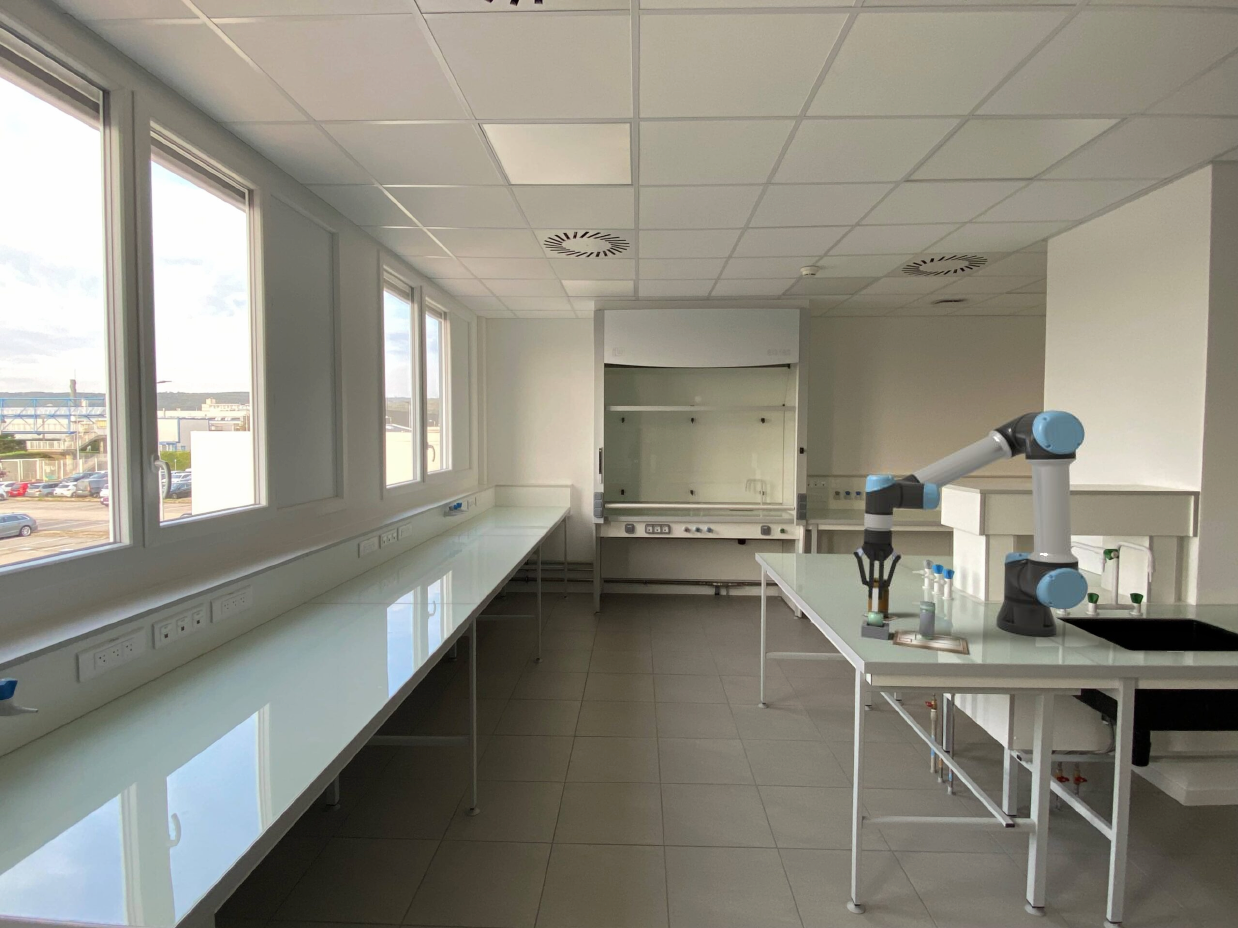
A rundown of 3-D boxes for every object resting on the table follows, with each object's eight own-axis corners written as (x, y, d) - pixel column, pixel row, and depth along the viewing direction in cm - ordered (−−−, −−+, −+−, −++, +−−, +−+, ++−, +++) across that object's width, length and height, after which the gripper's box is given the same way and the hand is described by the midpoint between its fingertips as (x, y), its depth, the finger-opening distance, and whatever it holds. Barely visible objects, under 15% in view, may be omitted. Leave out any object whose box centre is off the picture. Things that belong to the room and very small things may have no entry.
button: (883, 622, 184) (883, 612, 184) (882, 626, 180) (882, 616, 180) (868, 621, 186) (869, 610, 186) (867, 624, 182) (867, 614, 182)
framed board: (964, 639, 179) (964, 637, 179) (967, 654, 167) (967, 651, 167) (895, 630, 187) (895, 628, 187) (892, 644, 175) (893, 641, 175)
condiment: (873, 611, 208) (874, 575, 208) (899, 617, 202) (900, 580, 202) (862, 615, 204) (863, 578, 203) (887, 621, 197) (888, 583, 197)
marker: (934, 637, 179) (935, 602, 179) (934, 641, 176) (935, 605, 175) (919, 635, 181) (920, 600, 180) (918, 639, 177) (919, 603, 177)
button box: (889, 633, 185) (889, 623, 185) (887, 639, 178) (888, 629, 178) (863, 629, 188) (863, 619, 188) (861, 636, 182) (861, 625, 181)
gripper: (903, 529, 183) (900, 610, 183) (855, 525, 188) (852, 604, 189) (902, 532, 176) (899, 616, 177) (852, 528, 182) (849, 610, 182)
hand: (874, 610), depth 183 cm, fingers closed
